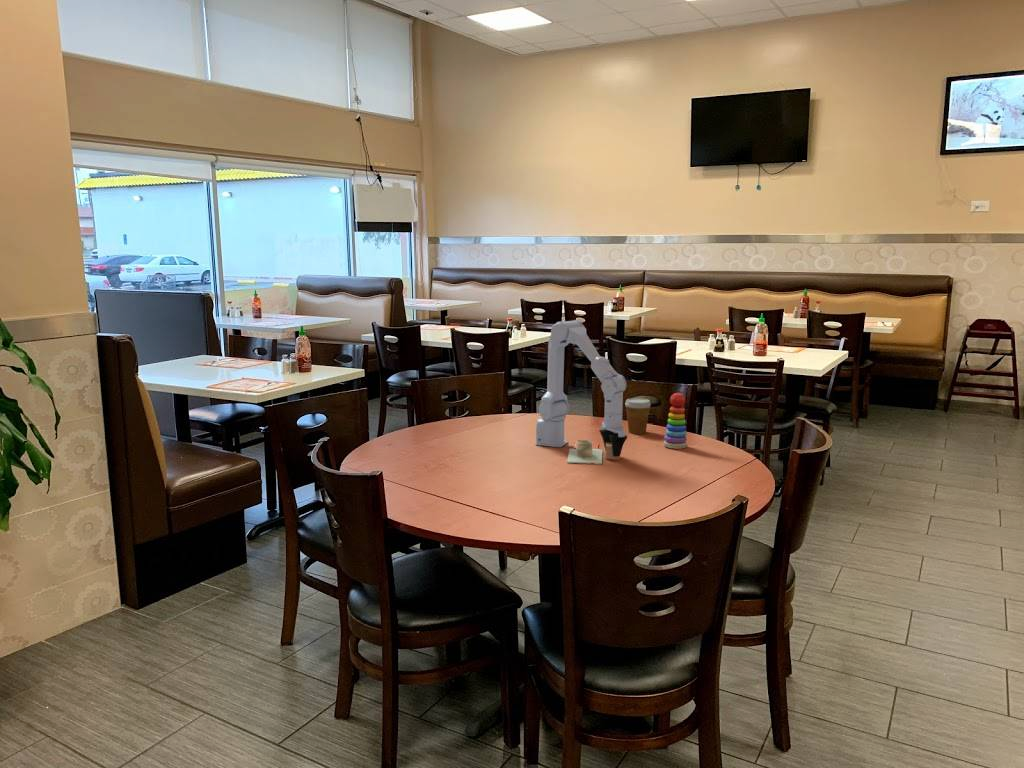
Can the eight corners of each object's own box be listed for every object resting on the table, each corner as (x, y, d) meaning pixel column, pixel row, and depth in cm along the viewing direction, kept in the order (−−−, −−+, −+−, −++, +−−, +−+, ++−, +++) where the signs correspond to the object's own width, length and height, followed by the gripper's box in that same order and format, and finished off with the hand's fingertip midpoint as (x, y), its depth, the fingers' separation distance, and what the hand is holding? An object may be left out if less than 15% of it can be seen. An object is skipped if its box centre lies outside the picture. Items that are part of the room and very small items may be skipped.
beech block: (578, 457, 247) (578, 443, 246) (577, 453, 251) (577, 440, 251) (592, 457, 247) (592, 443, 246) (591, 453, 251) (591, 440, 250)
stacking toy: (687, 450, 257) (689, 395, 254) (663, 449, 259) (665, 395, 255) (687, 444, 265) (689, 391, 262) (663, 443, 266) (665, 390, 263)
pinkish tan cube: (605, 459, 246) (605, 446, 246) (605, 455, 251) (605, 442, 250) (619, 459, 246) (620, 446, 245) (619, 456, 250) (619, 442, 250)
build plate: (567, 463, 242) (567, 461, 242) (569, 450, 258) (569, 448, 258) (601, 464, 241) (602, 462, 241) (602, 451, 256) (602, 449, 256)
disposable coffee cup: (619, 430, 285) (619, 399, 283) (640, 428, 289) (641, 397, 287) (633, 436, 276) (634, 403, 274) (655, 433, 280) (656, 401, 278)
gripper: (593, 409, 252) (592, 448, 254) (610, 418, 238) (610, 460, 240) (613, 407, 253) (612, 447, 256) (631, 416, 240) (630, 458, 242)
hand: (612, 453), depth 248 cm, fingers closed on pinkish tan cube, 6 cm apart
